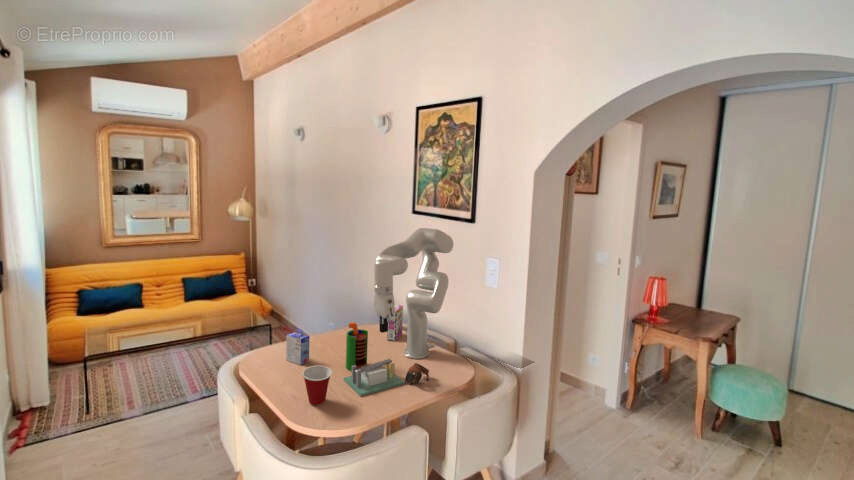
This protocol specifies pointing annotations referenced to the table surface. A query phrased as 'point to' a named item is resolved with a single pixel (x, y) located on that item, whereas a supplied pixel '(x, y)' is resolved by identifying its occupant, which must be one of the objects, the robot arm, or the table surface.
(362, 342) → the motor
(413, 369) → the pottery mug
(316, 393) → the plastic cup
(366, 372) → the board
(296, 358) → the ink cartridge box
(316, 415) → the table surface
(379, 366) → the strap
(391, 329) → the candy bar box
